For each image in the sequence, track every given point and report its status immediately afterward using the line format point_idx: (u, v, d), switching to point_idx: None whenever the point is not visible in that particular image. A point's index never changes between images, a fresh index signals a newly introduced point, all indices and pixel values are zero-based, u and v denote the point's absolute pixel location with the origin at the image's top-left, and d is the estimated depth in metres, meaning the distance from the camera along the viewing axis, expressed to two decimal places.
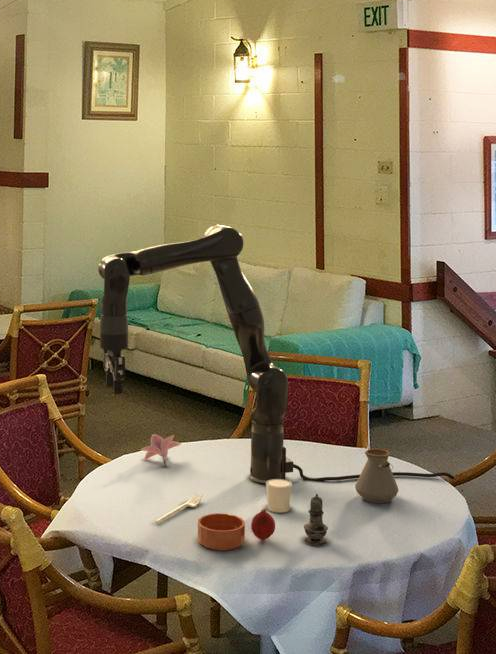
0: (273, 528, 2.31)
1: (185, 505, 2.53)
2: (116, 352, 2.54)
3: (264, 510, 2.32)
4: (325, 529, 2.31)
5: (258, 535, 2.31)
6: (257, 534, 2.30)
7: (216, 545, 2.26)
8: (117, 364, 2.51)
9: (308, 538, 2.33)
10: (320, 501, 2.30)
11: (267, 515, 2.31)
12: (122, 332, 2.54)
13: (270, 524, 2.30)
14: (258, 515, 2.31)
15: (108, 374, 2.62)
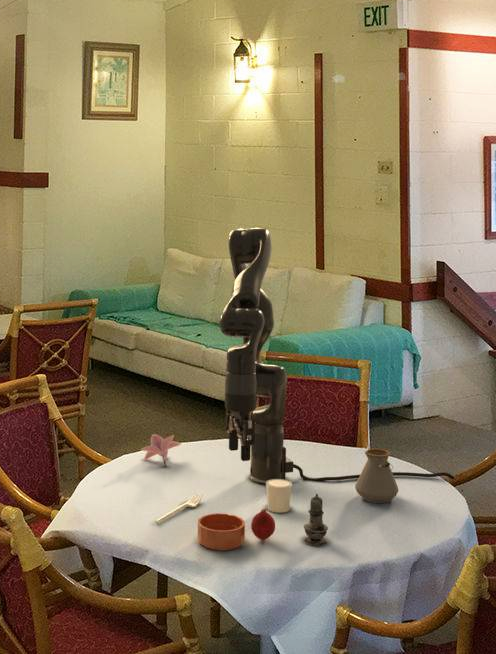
0: (273, 528, 2.31)
1: (185, 505, 2.53)
2: (244, 414, 2.29)
3: (264, 510, 2.32)
4: (325, 529, 2.31)
5: (258, 535, 2.31)
6: (257, 534, 2.30)
7: (216, 545, 2.26)
8: (246, 428, 2.26)
9: (308, 538, 2.33)
10: (320, 501, 2.30)
11: (267, 515, 2.31)
12: (251, 392, 2.29)
13: (270, 524, 2.30)
14: (258, 515, 2.31)
15: (231, 437, 2.37)
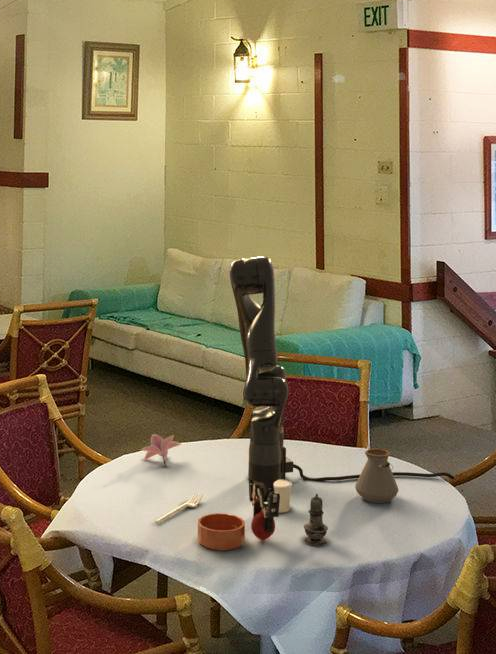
0: (273, 528, 2.31)
1: (185, 505, 2.53)
2: (269, 484, 2.27)
3: None
4: (325, 529, 2.31)
5: (258, 535, 2.31)
6: (257, 534, 2.30)
7: (216, 545, 2.26)
8: (271, 502, 2.25)
9: (308, 538, 2.33)
10: (320, 501, 2.30)
11: None
12: (275, 462, 2.28)
13: None
14: (258, 515, 2.31)
15: (256, 508, 2.35)
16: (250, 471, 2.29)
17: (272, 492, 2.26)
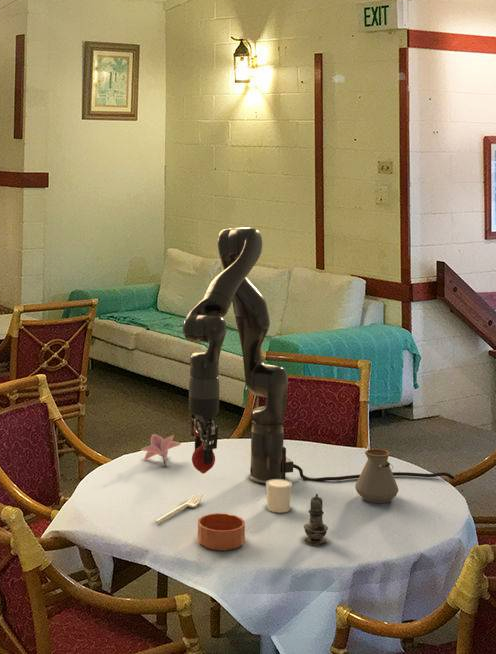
0: None
1: (185, 505, 2.53)
2: (208, 417, 2.35)
3: None
4: (325, 529, 2.31)
5: (198, 467, 2.38)
6: (197, 466, 2.38)
7: (216, 545, 2.26)
8: (209, 434, 2.33)
9: (308, 538, 2.33)
10: (320, 501, 2.30)
11: None
12: (214, 396, 2.35)
13: None
14: (198, 448, 2.39)
15: (197, 443, 2.42)
16: (190, 405, 2.37)
17: (211, 425, 2.34)
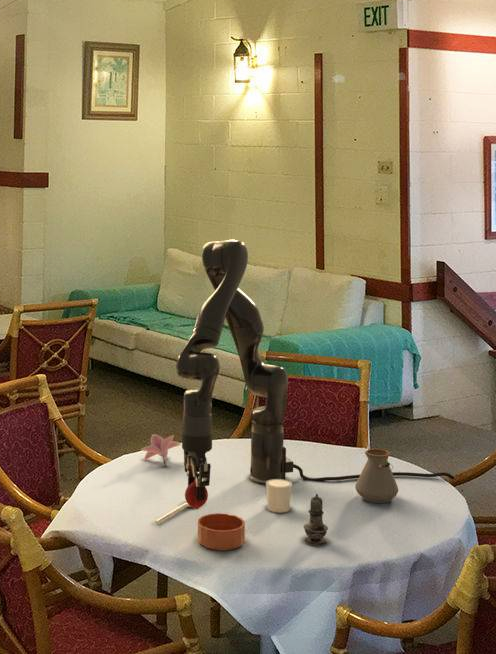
0: (205, 497, 2.40)
1: (185, 505, 2.53)
2: (201, 454, 2.37)
3: None
4: (325, 529, 2.31)
5: (191, 504, 2.40)
6: (190, 502, 2.40)
7: (216, 545, 2.26)
8: (202, 472, 2.35)
9: (308, 538, 2.33)
10: (320, 501, 2.30)
11: None
12: (207, 433, 2.37)
13: None
14: (191, 485, 2.41)
15: (190, 479, 2.45)
16: (183, 442, 2.39)
17: (203, 462, 2.36)
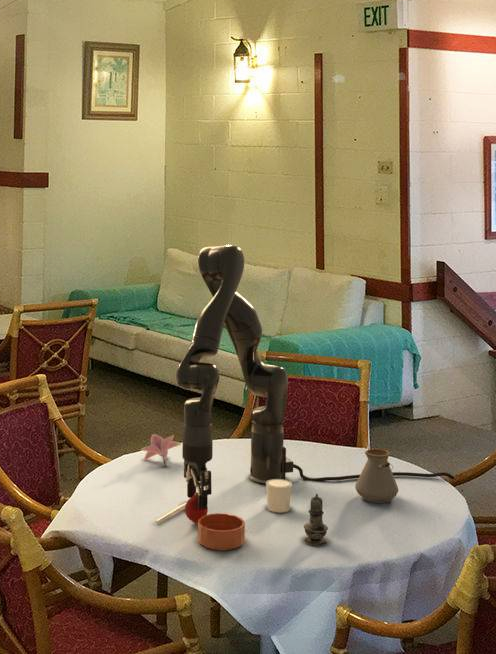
0: (205, 512, 2.41)
1: None
2: (201, 464, 2.38)
3: (197, 494, 2.42)
4: (325, 529, 2.31)
5: (191, 518, 2.41)
6: (190, 517, 2.41)
7: (216, 545, 2.26)
8: (203, 479, 2.35)
9: (308, 538, 2.33)
10: (320, 501, 2.30)
11: None
12: (207, 443, 2.38)
13: None
14: (191, 499, 2.42)
15: (190, 484, 2.46)
16: (183, 452, 2.39)
17: (204, 470, 2.36)
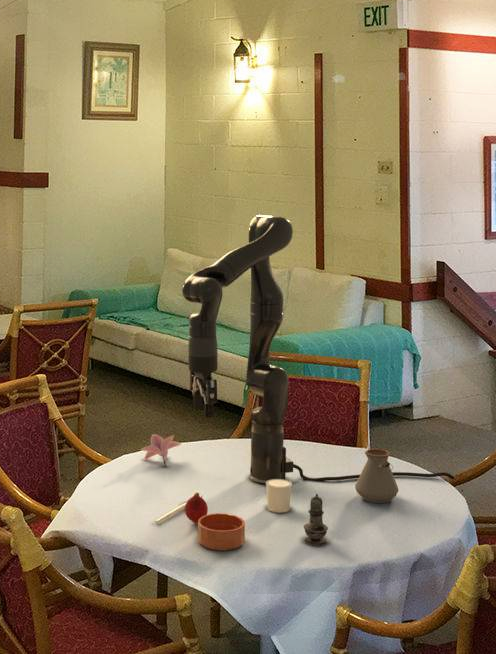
0: (205, 512, 2.41)
1: None
2: (207, 374, 2.48)
3: (197, 494, 2.42)
4: (325, 529, 2.31)
5: (191, 518, 2.41)
6: (190, 517, 2.41)
7: (216, 545, 2.26)
8: (209, 387, 2.45)
9: (308, 538, 2.33)
10: (320, 501, 2.30)
11: (200, 499, 2.42)
12: (212, 354, 2.48)
13: (202, 507, 2.41)
14: (191, 499, 2.42)
15: (196, 396, 2.56)
16: (190, 363, 2.50)
17: (209, 379, 2.47)
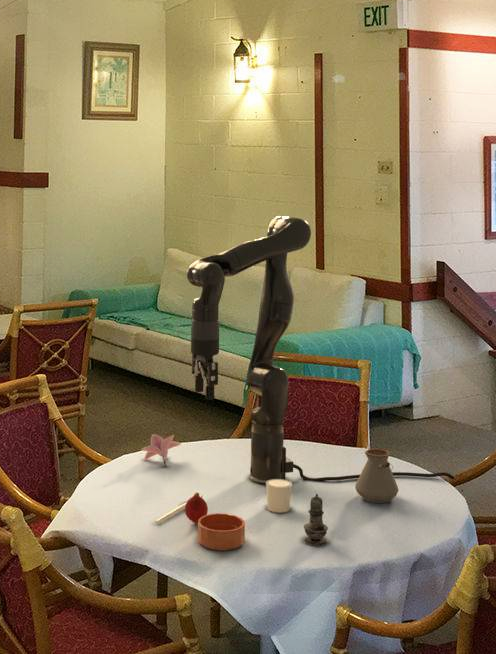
0: (205, 512, 2.41)
1: None
2: (208, 357, 2.54)
3: (197, 494, 2.42)
4: (325, 529, 2.31)
5: (191, 518, 2.41)
6: (190, 517, 2.41)
7: (216, 545, 2.26)
8: (210, 370, 2.51)
9: (308, 538, 2.33)
10: (320, 501, 2.30)
11: (200, 499, 2.42)
12: (214, 337, 2.54)
13: (202, 507, 2.41)
14: (191, 499, 2.42)
15: (197, 379, 2.62)
16: (192, 346, 2.55)
17: (211, 362, 2.52)
